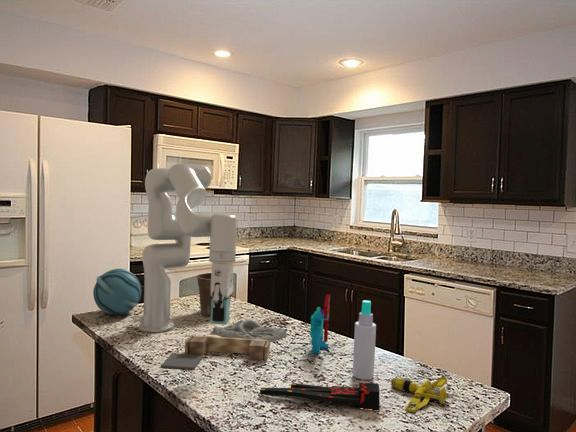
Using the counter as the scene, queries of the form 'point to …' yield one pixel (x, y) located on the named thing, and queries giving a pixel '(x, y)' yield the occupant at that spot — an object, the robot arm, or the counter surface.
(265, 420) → the counter surface
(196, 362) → the pad
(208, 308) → the object
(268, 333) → the wall plaque
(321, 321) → the toy
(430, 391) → the sprinkler
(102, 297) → the toy
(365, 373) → the spray bottle
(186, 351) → the rack
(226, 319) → the block
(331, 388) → the toy
